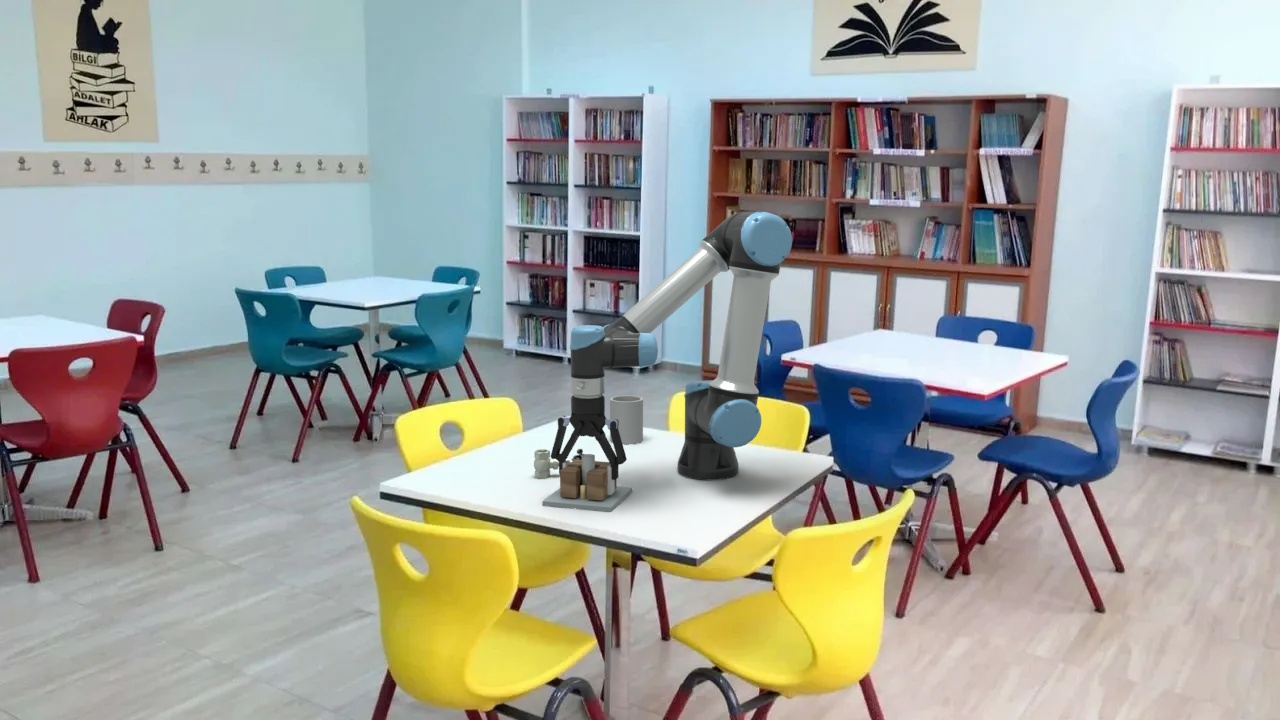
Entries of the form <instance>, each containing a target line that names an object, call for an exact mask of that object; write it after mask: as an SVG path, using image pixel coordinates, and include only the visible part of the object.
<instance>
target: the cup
mask: <svg viewBox="0 0 1280 720" xmlns="http://www.w3.org/2000/svg"><path fill="white" fill-rule="evenodd" d="M609 416H610V417H609V420H615V419H617V420H618V421H619V426H618V430H619V434H620V437H621V441H622V444H624V445H623V446H629V444H633V445H638V444H637V443H639V444H641V442H642V441H644V398H643V397H642V396H638V395H615V396H612V397H610V398H609ZM609 434H610V433H609ZM609 436H610V438H609V441H611V442H610V443H611V444H613V442H612V438H611V434H610V435H609ZM642 443H643V442H642Z"/></svg>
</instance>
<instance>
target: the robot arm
mask: <svg viewBox="0 0 1280 720" xmlns="http://www.w3.org/2000/svg"><path fill="white" fill-rule="evenodd" d="M792 246H793V237H792V231H791V229H790V227H789V226H788V224H787V222H786V221H785V220H784V219H783V218H781V217H780V216H779V215H776V214H773V213H770V212H767V211H746V210H745V211H744V210H743V211H738V212H737V213H733V214H732V215H730V216H728V217H727V218H725V219H724V220H723V221H722V222H721V223H720V224H719V225H717V226H716V227H715V228H714V229H713V230H712V231H711V232H710V233H708V234H707V235H706V236H705V237H704V238H703V239H702V240H701V241H700V242H699V248H698V249H697V250H696V251H694V252H693V253H692V254H691V255H689V257H688V258H687V259H685V260H684V261H683V262H682V263H681V264H680V265H678V266H677V268H676V269H674V270H673V271H672V272H670V274H668V275H667V276H666V277H664V279H663V280H662V281H660V283H658V284H657V285H656V286H655V287H654V288H653V289H651V290H650V291H649V292H648V293H647V294H646V295H644V297H642V298H641V299H640V300H639V301H638V302H637V303H635V304H634V305H633V306H632V307H631V308H630V309H628V311H626V312H625V313H624V314H623V315H622V316H620V317H619V318H618V319H617V320H616V321H615V322H614V323H611V324H610V323H609V324H606V325H604V326H601V325H596V324H594V325H590V324H589V325H588V324H585V325H578V326H574V327H573V328H572V329H571V331H570V346H569V349H570V374H571V375H570V393H571V394H572V396H571V397H570V398H571V399H570V412H571V413H570V416H566V415H563V416H560V417H558V419H557V432H556V434H555V438H554V442H553V446H552V449H551V452H550V459H556V460H558V462H559V467H558V470H559V471H558V474H559V475H560V470H562V469H563V468H564V467H566V466H567V465H569V464H570V461H571V460H570V459H568V457H569V455H570V453H571V452H572V450H573V448H574V447H575V444H576V443H577V441H578V439H579V438H580V437H586V436H587V437H589V438H590V437H591V438H594V439H595V441H597V443H598V444H599V446H600V448H601V450H602V451H603V454H604V455H605V457H606V458H607V459H606V460H607V462H610V465H609V466H608V467H607V470H608V495H611V494H613V493H614V492H615V483H614V480H616V479H619V465H623V464H625V462H626V461H627V460H628V459H627V455H626V452H625V448H624V445H623V444H622V441H621V437H620V434H619V430H618V426H619V421H618V420H617V419H615V420H610V419H607V417H606V413H605V411H606V410H605V409H606V408H605V407H606V405H605V404H606V403H605V402H606V401H605V396H604V394H605V390H606V389H605V386H606V385H605V369H613V368H637V367H639V368H643V367H648V366H653V365H655V364H656V362H657V359H658V353H659V352H658V351H659V350H658V349H659V348H658V341H657V338H656V336H655V334H653V331H655V330H656V329H657V328H658V327H659V326H661V324H662V323H664V321H666V320H667V319H668V318H669V317H671V316H672V315H673V314H674V313H676V311H677V310H679V309H680V308H681V307H682V306H683V305H684V304H686V302H688V301H689V300H690V299H691V298H692V297H694V295H696V294H697V293H698V292H700V290H701V289H703V288H704V287H705V286H706V285H707V284H709V282H711V281H712V280H713V279H714V278H715V277H716V276H718V275H719V274H720V273H727V272H728V271H729V270H730V271H731V273H732V274H733V278H732V279H733V280H732V286H731V293H730V298H729V304H728V310H727V318H726V323H725V329H724V335H723V339H722V340H723V341H722V347H721V354H720V360H719V365H718V370H717V371H718V372H717V376H716V378H715V379H713V380H711V379H710V380H696V381H695V380H694V381H689V382H688V383H686V385H685V391H684V392H685V393H684V395H683V396H684V397H683V398H684V443H683V444H682V445H683V446H682V449H681V452H680V455H679V458H678V461H677V473H678V475H681V476H683V477H685V478H688V479H695V480H705V481H709V480H710V481H712V480H713V481H714V480H715V481H716V480H723V479H724V480H726V479H729V478H732V477H733V478H734V477H736V476H738V474H739V461H738V458H737V454H736V451H735V449H734V448H740V447H744V446H746V445H748V444H749V443H751V442H752V441H753V440H754V439H755V438H756V437H757V435H758V434H759V433H760V430H761V426H762V415H761V412H760V410H759V408H758V406H757V404H758V399H759V395H760V391H759V389H758V388H757V386H756V385H755V379H756V378H755V377H756V373H757V365H758V361H759V360H758V359H759V354H760V347H761V342H762V336H763V331H764V325H765V319H766V313H767V308H768V301H769V294H770V289H771V283H772V281H773V280H774V279H776V278H777V277H778V276H779V275H780V270H781V264H782V262H783V261H784V260H785V259H786V258H788V256H789V254H790V252H791V249H792ZM569 425H571V426H572V427H573V431H572V432H571V434H570V437H569V439H568V441H567V443H566V444H565V445H564V447H563V450H562V451H561V449H562V446H563V442H564V440H565V436H566V431H567V429H568V428H567V427H568V426H569ZM605 426H607V429H608V430H609V434H611V438H612V442H613V443H612V442H609V440H608V438H607V435H606V432H605V431H604V428H605ZM611 443H612V445H613V446H612V445H611ZM566 459H568V460H566Z"/></svg>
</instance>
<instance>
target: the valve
mask: <svg viewBox="0 0 1280 720" xmlns="http://www.w3.org/2000/svg"><path fill="white" fill-rule="evenodd" d="M584 454H585V453H583V448H577V450H576V454H575V455H573V456H572V457H573V458H571V460H570V463H571V462H573V461H574V460H582V455H584ZM566 460H569V459H568V458H567V459H566ZM533 468H534V470H535V471H534V478H535V479H539V480H540V479H549V478H550V477H551V469H553V470H559V462H558V460H556V459H552V458H551V451H550V450H549V449H545V448H544V449H543V448H542V449H536V450H535V451H534V461H533Z"/></svg>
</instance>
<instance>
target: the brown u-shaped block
mask: <svg viewBox="0 0 1280 720" xmlns="http://www.w3.org/2000/svg"><path fill="white" fill-rule="evenodd" d="M609 465H610V462H609V461H600V460H599V461H598V460H595V470H590V471H588V472H587V499H592V500H604V499H605V498H606V497H607V496H608V470H607V467H608V466H609ZM617 479H618V478H617ZM617 479H616V480H614V483H615V489H616V488H617V486H618V485H617V483H618V482H617ZM559 485H560V486H559V488H560V497H570V498H577V497H578V496H579V495H580V485H582V460H574V461H573V462H571V463H570V464H569V465H567V466H566V467H564V468H563V469H562V470H560V474H559Z"/></svg>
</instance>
